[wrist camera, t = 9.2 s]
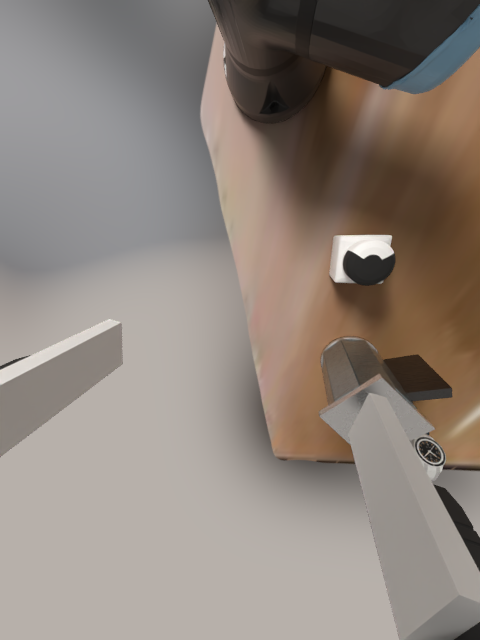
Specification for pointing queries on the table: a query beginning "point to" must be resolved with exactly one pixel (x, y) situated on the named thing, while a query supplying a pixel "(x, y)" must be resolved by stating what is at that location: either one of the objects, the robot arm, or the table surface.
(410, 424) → the press
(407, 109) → the table surface
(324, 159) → the table surface
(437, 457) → the watch
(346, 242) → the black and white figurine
